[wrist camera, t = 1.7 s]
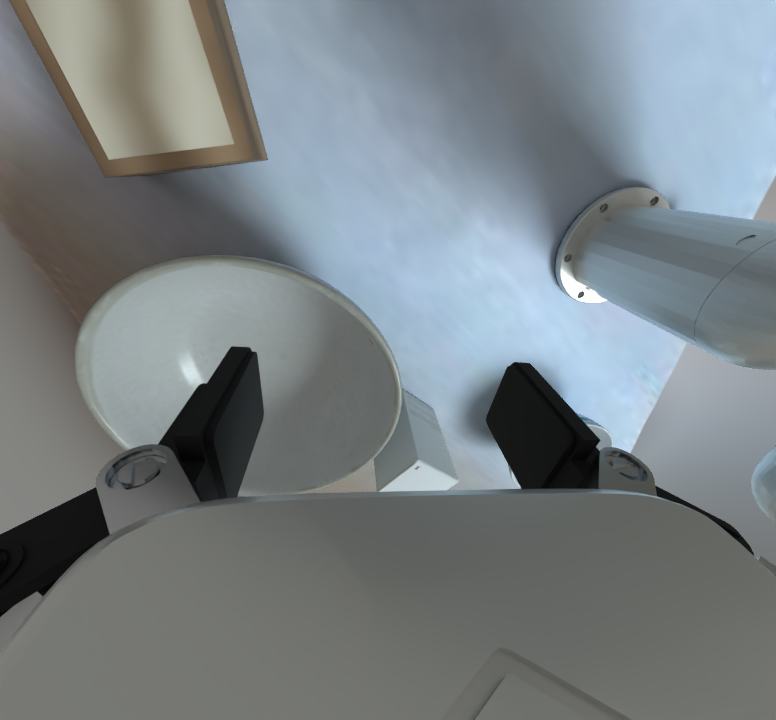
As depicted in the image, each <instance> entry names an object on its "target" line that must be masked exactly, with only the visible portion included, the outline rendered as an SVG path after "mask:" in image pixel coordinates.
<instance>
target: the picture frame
mask: <svg viewBox="0 0 776 720" xmlns="http://www.w3.org/2000/svg"><path fill="white" fill-rule="evenodd" d="M9 1H10V3H11V5H12V7H13V9H14V10H15V12H16V14H17V16H18V18H19V20H20V21H21V23H22V25H23V27H24V29H25V31H26V32H27V34H28V36H29V38H30V40H31V42H32V43H33V45H34V47H35V49H36V51H37V53H38V55H39V56H40V58H41V60H42V62H43V64H44V66H45V67H46V69H47V71H48V73H49V75H50V77H51V78H52V80H53V82H54V84H55V86H56V88H57V89H58V91H59V93H60V95H61V97H62V99H63V100H64V102H65V104H66V106H67V108H68V110H69V111H70V113H71V115H72V117H73V119H74V121H75V123H76V124H77V126H78V128H79V130H80V132H81V134H82V135H83V137H84V139H85V141H86V143H87V145H88V146H89V148H90V150H91V152H92V154H93V156H94V157H95V159H96V161H97V163H98V165H99V167H100V168H101V170H102V172H103V174H104V176H105V178H106V177H129V176H147V175H154V174H162V173H170V172H178V171H185V170H193V169H201V168H209V167H216V166H224V165H232V164H240V163H248V162H255V161H263V160H268V158H267V154H266V151H265V147H264V144H263V140H262V136H261V133H260V129H259V126H258V122H257V118H256V115H255V111H254V107H253V104H252V100H251V97H250V93H249V89H248V86H247V82H246V78H245V75H244V71H243V68H242V64H241V60H240V57H239V53H238V50H237V46H236V42H235V39H234V35H233V31H232V28H231V24H230V21H229V17H228V13H227V10H226V6H225V2H224V0H9Z"/></svg>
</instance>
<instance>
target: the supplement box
mask: <svg viewBox="0 0 776 720" xmlns="http://www.w3.org/2000/svg"><path fill="white" fill-rule="evenodd" d="M374 465H375V476H376V487H377V492H390V491H437V490H447V489H449V488H450V487H452V486H453V485H455V484H456V483H458V482H459V480H458V477H457V474H456V471H455V468H454V465H453V463H452V460H451V457H450V454H449V451H448V449H447V446H446V443H445V440H444V437H443V435H442V432H441V429H440V426H439V423H438V420H437V417H436V415H435V412H434V410H433V409H432V408H430V407H429V406H427V405H426V404H424V403H423V402H421V401H420V400H418V399H417V398H415V397H414V396H412V395H411V394H409V393H408V392H406V391H405V390H403V389H402V405H401V411H400V415H399V419H398V422H397V425H396V428H395V430H394V432H393V434H392V436H391V437H390V439H389V441H388V442H387V444H386V445H385V446H384V448H383V449H382V450H381V451H380V453H379V454H378V455H377V456H376V457H375V458H374Z"/></svg>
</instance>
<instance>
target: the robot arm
mask: <svg viewBox="0 0 776 720" xmlns="http://www.w3.org/2000/svg"><path fill="white" fill-rule="evenodd" d="M555 271H556V278H557V281H558V284H559V286H560V288H561V289H562V290H563V292H564V293H566V294H567V295H568V296H570V297H571V298H573V299H575V300H577V301H580V302H583V303H600V302H605V301H609V302H611V303H613V304H615V305H617V306H619V307H621V308H623V309H625V310H627V311H629V312H630V313H632V314H634V315H636V316H638V317H640V318H642V319H644V320H646V321H648V322H650V323H652V324H653V325H655V326H657V327H659V328H661V329H663V330H665V331H667V332H669V333H671V334H673V335H675V336H676V337H678V338H680V339H682V340H684V341H686V342H688V343H690V344H692V345H694V346H696V347H698V348H700V349H702V350H704V351H706V352H708V353H710V354H712V355H714V356H716V357H717V358H720V359H722V360H724V361H727V362H729V363H732V364H735V365H738V366H742V367H747V368H752V369H763V370H776V223H774V222H766V221H759V220H751V219H744V218H736V217H728V216H721V215H713V214H705V213H698V212H690V211H683V210H675V209H670V206H669V204H668V201H667V200H666V199H665V198H664V197H663V195H662V194H660V193H658V192H657V191H655V190H653V189H649V188H644V187H628V188H621V189H619V190H616V191H613V192H610V193H608V194H606V195H604V196H603V197H601V198H599V199H598V200H596V201H595V202H594V203H592V204H591V205H589V206H588V207H587V208H586V209H585V210H584V211H583V212H582V213H581V214H580V215H579V216H578V217H577V218H576V220H575V221H574V222H573V223H572V225H571V226H570V227H569V229H568V231H567V232H566V234H565V236H564V238H563V240H562V242H561V245H560V247H559V249H558V254H557V258H556V267H555ZM263 418H264V406H263V398H262V389H261V381H260V372H259V364H258V356H257V352H252V350H251V348H250V347H238V346H231V347H230V349H229V350H228V352H227V353H226V355H225V356H224V358H223V359H222V361H221V362H220V364H219V365H218V367H217V369H216V370H215V372H214V373H213V375H212V376H211V378H210V379H209V381H208V382H207V383H202V384H200V385H199V386H198V387H197V388H196V390H195V391H194V392H193V394H192V395H191V397H190V398H189V400H188V401H187V403H186V404H185V406H184V407H183V408H182V410H181V411H180V413H179V414H178V416H177V417H176V419H175V420H174V421H173V423H172V424H171V426H170V427H169V429H168V430H167V432H166V433H165V435H164V436H163V437H162V439H161V440H160V442H159V443H158V444H149V445H142V446H138V447H135V448H132V449H129V450H127V451H125V452H123V453H121V454H119V455H117V456H116V457H115V458H113V459H112V460H110V461H109V462H108V463H107V464H106V465H105V466H104V467H103V468H102V469H101V470H100V472H99V474H98V476H97V478H96V488H94V489H92V490H90V491H87V492H86V493H83V494H81V495H79V496H77V497H75V498H73V499H71V500H69V501H67V502H65V503H63V504H61V505H59V506H57V507H55V508H53V509H51V510H49V511H47V512H45V513H43V514H41V515H39V516H37V517H35V518H33V519H31V520H29V521H27V522H25V523H23V524H21V525H19V526H17V527H15V528H13V529H11V530H9V531H7V532H4V533H2V534H0V720H776V566H775V565H773V564H772V563H770V562H769V561H767V560H766V559H764V558H763V557H762V556H759V557H757V558H755V557H754V553H753V552H752V549H751V547H750V546H749V544H748V543H747V542H746V541H745V540H744V538H743V537H741V535H740V534H739V532H738V531H737V530H736V529H734V528H733V527H732V526H731V525H730V524H728V523H726V522H725V521H722V520H721V519H719V518H717V517H715V516H713V515H711V514H709V513H707V512H705V511H703V510H701V509H699V508H698V507H696V506H694V505H692V504H690V503H688V502H686V501H684V500H682V499H680V498H678V497H676V496H674V495H672V494H670V493H669V492H667V491H665V490H663V489H661V488H659V487H657V486H655V481H654V477H653V475H652V472H651V471H650V470H649V468H648V467H647V466H646V465H645V464H644V463H643V462H642V461H640V460H639V459H637V458H636V457H635V456H633V455H632V454H630V453H628V452H626V451H624V450H621V449H618V448H614V447H604V448H603V449H601V450H600V451H599V450H598V449H597V447H596V446H597V445H598V443H599V442H600V441H601V440H600V439H599V438H598V437H597V436H596V435H595V433H594V432H593V431H592V430H591V429H590V428H589V427H588V426H587V425H586V424H585V423H584V422H583V420H582V419H581V418H580V417H579V416H578V415H577V414H576V413H575V412H574V411H573V410H572V408H571V407H570V406H569V405H568V404H567V403H566V402H565V401H564V400H563V399H562V398H561V397H560V395H559V394H558V393H557V392H556V391H555V390H554V389H553V388H552V387H551V386H550V385H549V383H548V382H547V381H546V380H545V379H544V378H543V377H542V376H541V375H540V374H539V373H538V372H537V370H536V369H535V368H534V367H533V366H532V365H531V364H530V363H519V362H514V363H513V364H511V366H508V367H507V369H506V371H505V374H504V376H503V378H502V381H501V383H500V386H499V388H498V390H497V393H496V395H495V398H494V400H493V402H492V405H491V407H490V409H489V412H488V414H487V418H486V422H487V425H488V427H489V429H490V431H491V433H492V435H493V436H494V438H495V440H496V442H497V444H498V446H499V448H500V449H501V451H502V453H503V455H504V457H505V459H506V461H507V463H508V464H509V466H510V468H511V470H512V472H513V474H514V476H515V477H516V479H517V481H518V483H519V485H520V487H521V489H491V490H437V491H390V492H350V493H312V494H287V495H263V496H247V497H237V495H238V493H239V490H240V487H241V484H242V481H243V478H244V475H245V472H246V469H247V466H248V463H249V460H250V457H251V454H252V451H253V448H254V445H255V442H256V439H257V437H258V434H259V431H260V428H261V425H262V422H263ZM751 487H752V492H753V496H754V498H755V501H756V502H757V504H758V505H759V507H760V508H761V510H762V511H763V513H764V514H765V515H766V516H767V517H768V518H769V520H770V521H771V522H772V523H773V524H774V525H775V526H776V446H775V447H774V448H773V449H772V450H771V451H770V452H769V453H768V454H767V455H766V456H765V457H764V458H763V459H762V460H761V461H760V463H759V464H758V465H757V467H756V469H755V471H754V473H753V475H752V482H751Z"/></svg>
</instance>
